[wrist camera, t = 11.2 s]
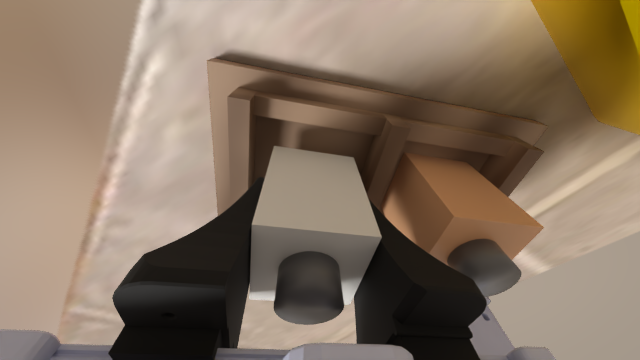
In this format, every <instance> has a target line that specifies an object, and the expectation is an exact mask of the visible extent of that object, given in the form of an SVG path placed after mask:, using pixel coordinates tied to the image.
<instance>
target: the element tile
mask: <svg viewBox="0 0 640 360" xmlns="http://www.w3.org/2000/svg"><path fill="white" fill-rule="evenodd" d="M531 1H532V3H533V5H534V7H535V8H536V10H537V12H538V14H539V16H540V18H541V20H542V21H543V23H544V25H545V27H546V29H547V31H548V32H549V34H550V36H551V38H552V40H553V42H554V43H555V45H556V47H557V49H558V51H559V53H560V54H561V56H562V58H563V60H564V62H565V64H566V65H567V67H568V69H569V71H570V73H571V75H572V76H573V78H574V80H575V82H576V84H577V86H578V87H579V89H580V91H581V93H582V95H583V97H584V98H585V100H586V102H587V104H588V106H589V108H590V109H591V111H592V113H593V115H594V117H595V118H596V119H597V120H598V121H599V122H601V123H604V124H607V125H610V126H614V127H617V128H620V129H623V130H626V131H629V132H632V133H635V134H638V135H640V0H531Z"/></svg>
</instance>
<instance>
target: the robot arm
mask: <svg viewBox="0 0 640 360" xmlns="http://www.w3.org/2000/svg"><path fill="white" fill-rule="evenodd" d="M264 179H265V178H264V177H259V178H257V180H256V181H255V182H254V183H253V185H252V186H251V187H250V188H249V189H248V190H247V191H246V192H245V193H244V194H243V195H242V196H241V197H240V198H239V199H238V200H237V201H236V202H235V203H234V204H232V205H231V206H230V207H229V208H228V209H227V210H225V211H224V212H223V213H222V214H220V215H219V216H217V217H216V218H215V219H213V220H212V221H210V222H209V223H207V224H206V225H204V226H202V227H201V228H199V229H197V230H196V231H194V232H192V233H190V234H188V235H186V236H184V237H182V238H180V239H178V240H176V241H174V242H172V243H170V244H167V245H165V246H163V247H160V248H158V249H156V250H153V251H151V252H148V253H146V254H144V255H143V256H142V257H141V258H140V260H139V261H138V262H137V263H136V264H135V265H134V266H133V268H132V269H131V270H130V271H129V273H128V274H127V275H126V277H125V278H124V280H123V281H122V282H121V284H120V285H119V286H118V288H117V289H116V290H115V292H114V295H113V298H112V299H113V302H114V305H115V308H116V309H117V311H118V313H119V315H120V317H121V318H122V320H123V322H124V324H125V326H124V328H123V330H122V331H121V333H120V335H119V336H118V338H117V339H116V341H115V343H114V344H113V345H82V344H60V341H59V339H58V338H57V337H56V336H55V335H53V334H51V333H49V332H45V331H35V330H5V329H1V330H0V360H556V359H555V357H554V356H553V355H552V353H551V352H550V351H549V349H548V348H545V347H519V348H514V346H513V345H512V343H511V342H510V340H509V338H508V337H507V335H506V334H505V332H504V331H503V329H502V328H501V326H500V325H499V323H498V321H497V320H496V319H495V317H494V315H493V314H492V312H491V311H490V309H489V308H488V307H487V305H488V304H489V303H490V302H491V300H490V299H489V298H488V297H484V295H483V294H482V292H481V291H480V289H479V288H478V286H477V285H476V283H475V282H474V280H473V279H471V278H470V277H468V276H466V275H464V274H462V273H460V272H459V271H457V270H455V269H453V268H451V267H449V266H448V265H446V264H444V263H443V262H441V261H440V260H438V259H436V258H435V257H433V256H432V255H430V254H429V253H427V252H426V251H425V250H423V249H422V248H420V247H419V246H418V245H416V244H415V243H414V242H412V241H411V240H410V239H409V238H407V237H406V236H405V235H404V234H403V233H402V232H400V231H399V230H398V229H397V228H396V227H395V226H394V225H393V224H392V223H391V222H390V221H389V220H388V219H387V218H386V217H385V216H384V215H383V214H382V213H381V212H380V211H379V210H378V209H377V207H376V206H375V205H374V204H373V203H372V202H371V200H370V199H369V198H368V200H369V202H370V205H371V208H372V211H373V214H374V217H375V219H376V222H377V225H378V228H379V231H380V234H381V236H382V238H381V240H380V242H379V244H378V246H377V248H376V251H375V253H374V255H373V257H372V259H371V261H370V263H369V265H368V267H367V270H366V272H365V274H364V276H363V278H362V280H361V282H360V284H359V286H358V288H357V291H356V293H355V295H354V304H355V318H356V335H357V344H347V343H311V344H304V345H301V346H298V347H295V348H292V349H291V350H273V349H237V346H238V341H239V335H240V330H241V324H242V319H243V314H244V309H245V304H246V298H247V293H248V288H249V283H250V264H251V232H252V222H253V218H254V215H255V211H256V208H257V204H258V201H259V197H260V194H261V190H262V186H263V183H264Z"/></svg>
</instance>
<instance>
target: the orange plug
mask: <svg viewBox="0 0 640 360" xmlns="http://www.w3.org/2000/svg"><path fill="white" fill-rule="evenodd" d="M381 207H382V210H383V212H384V215H385V217H386V218H387V219H388V220H389V221H390V222H391V223H392V224H393V225H394V226H395V227H396V228H397V229H398V230H399V231H400V232H402V233H403V234H404V235H405V236H406V237H407V238H409V239H410V240H411V241H412V242H414V243H415V244H416V245H418V246H419V247H420V248H422V249H423V250H425V251H426V252H427V253H429V254H430V255H432V256H433V257H435V258H436V259H438V260H440V261H441V262H443V263H444V264H446V265H448V266H449V267H451V268H453V269H455V270H457V271H459V272H460V273H462V274H464V275H466V276H468V277H470V278H471V279H473V280H474V282H475V283H476V285H477V286H478V288H479V289H480V291H481V292H482V294H483V295H484V297H488V296H492V295H496V294H499V293H501V292H504V291H505V290H507V289H509V288H511V287H512V286H513V285H515V284H516V283H517V282H518V280H519V279H520V277H521V271H520V269H519V268H518V267H517V266H516V265H515V264H514V262H513V261H512V259H513V258H514V257H515V256H516V255H517V254H518V253H519V252H520V251H521V250H522V249H523V248H524V247H525V246H526V245H527V244H528V243H529V242H530V241H531V240H532V239H533V238H534V237H535V236H536V235H537V234H538V233H539V232H540V231H541V230H542V229H543V228H544V227H543V226H542V225H540V224H539V223H538V222H537V221H536V220H534V219H533V218H532V217H531V216H530V215H529V214H527V213H526V212H525V211H524V210H523V209H521V208H520V207H519V206H518V205H517V204H515V203H514V202H513V201H512V200H511V199H510V198H508V197H507V196H506V195H505V194H504V193H502V192H501V191H500V190H499V189H498V188H497V187H495V186H494V185H493V184H492V183H491V182H489V181H488V180H487V179H486V178H485V177H484V176H482V175H481V174H480V173H479V172H478V171H476V170H475V169H474V168H473V167H472V166H471V165H469V164H468V163H467V162H461V161H455V160H449V159H443V158H436V157H430V156H424V155H418V154H412V153H406V152H404V154H403V156H402V159H401V161H400V163H399V166H398V168H397V170H396V172H395V175H394V177H393V179H392V182H391V184H390V186H389V189H388V191H387V193H386V195H385V198H384V200H383V202H382V205H381Z"/></svg>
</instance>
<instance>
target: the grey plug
mask: <svg viewBox="0 0 640 360" xmlns="http://www.w3.org/2000/svg"><path fill="white" fill-rule="evenodd" d="M381 238H382V236H381V234H380V231H379V228H378V225H377V222H376V219H375V217H374V214H373V211H372V208H371V205H370V202H369V200H368V197H367V194H366V191H365V188H364V185H363V183H362V180H361V177H360V174H359V171H358V168H357V166H356V163H355V160H354V157H347V156H341V155H334V154H327V153H320V152H313V151H307V150H300V149H293V148H286V147H279V146H274V148H273V151H272V155H271V158H270V162H269V165H268V169H267V172H266V176H265V179H264V183H263V186H262V190H261V194H260V197H259V201H258V204H257V208H256V211H255V215H254V218H253V222H252V232H251V264H250V295H249V299H253V300H271V301H274V311H275V313H276V314H277V315H278V316H279V317H280V318H282V319H283V320H285V321H288V322H291V323H295V324H304V325H309V324H318V323H323V322H326V321H329V320H331V319H333V318H335V317H337V316H338V315H339V314H340V313H341V312H342V310H343V308H344V305H350V303H351V301H352V299H353V297H354V295H355V293H356V291H357V288H358V286H359V284H360V282H361V280H362V278H363V276H364V274H365V272H366V270H367V267H368V265H369V263H370V261H371V259H372V257H373V255H374V253H375V251H376V248H377V246H378V244H379V242H380V240H381Z"/></svg>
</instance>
